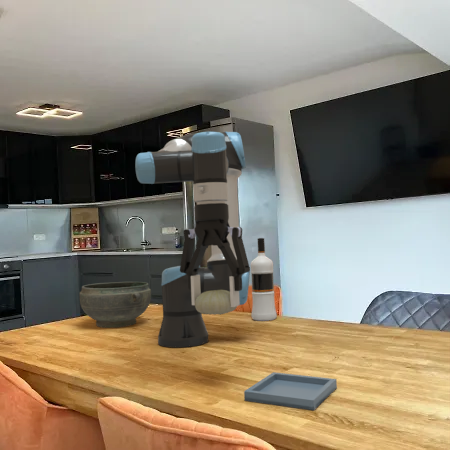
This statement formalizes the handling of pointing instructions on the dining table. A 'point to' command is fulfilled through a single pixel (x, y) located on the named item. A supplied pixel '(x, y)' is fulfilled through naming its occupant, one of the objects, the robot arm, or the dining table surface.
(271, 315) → the vodka
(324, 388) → the tray
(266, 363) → the dining table surface
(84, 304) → the bowl
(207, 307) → the sea urchin shell
